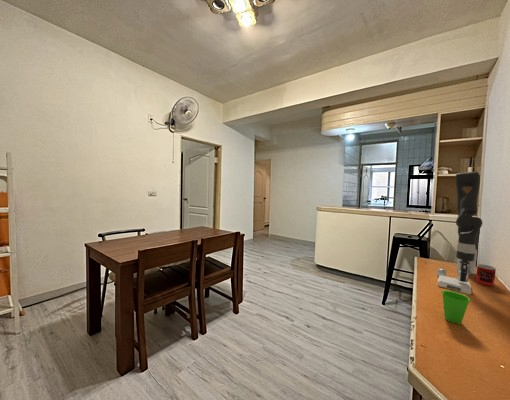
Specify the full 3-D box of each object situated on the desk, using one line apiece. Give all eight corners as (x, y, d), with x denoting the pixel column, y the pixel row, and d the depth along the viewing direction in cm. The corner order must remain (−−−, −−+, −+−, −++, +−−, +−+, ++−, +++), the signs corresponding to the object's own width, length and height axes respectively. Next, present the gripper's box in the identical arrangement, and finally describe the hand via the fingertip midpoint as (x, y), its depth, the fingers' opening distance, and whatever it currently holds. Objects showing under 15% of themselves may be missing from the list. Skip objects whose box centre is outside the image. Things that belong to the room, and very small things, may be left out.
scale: (438, 279, 138) (439, 274, 137) (469, 286, 128) (470, 281, 128) (437, 285, 127) (437, 280, 127) (471, 294, 117) (471, 289, 117)
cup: (460, 317, 95) (462, 292, 94) (473, 329, 86) (476, 302, 85) (435, 312, 97) (437, 288, 97) (445, 324, 89) (447, 298, 88)
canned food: (485, 281, 137) (487, 264, 137) (498, 287, 129) (500, 269, 129) (472, 280, 138) (473, 263, 137) (483, 286, 130) (485, 268, 129)
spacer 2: (457, 278, 128) (457, 270, 128) (467, 280, 125) (468, 272, 125) (457, 280, 125) (458, 272, 125) (468, 283, 122) (469, 274, 122)
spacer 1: (437, 275, 145) (437, 267, 145) (445, 277, 142) (446, 269, 142) (436, 276, 142) (437, 269, 141) (445, 278, 139) (446, 271, 138)
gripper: (456, 247, 132) (453, 275, 133) (456, 251, 121) (453, 281, 122) (474, 250, 127) (471, 279, 128) (475, 255, 116) (472, 286, 117)
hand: (462, 280), depth 125 cm, fingers closed on spacer 2, 4 cm apart
